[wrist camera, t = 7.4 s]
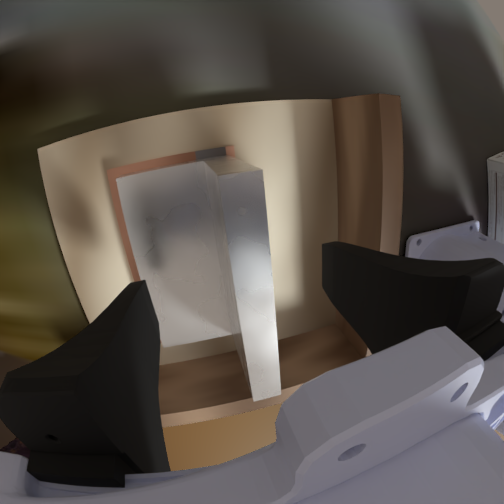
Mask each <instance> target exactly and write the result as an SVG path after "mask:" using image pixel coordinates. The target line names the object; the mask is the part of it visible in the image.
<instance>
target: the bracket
mask: <svg viewBox="0 0 504 504" xmlns="http://www.w3.org/2000/svg"><path fill="white" fill-rule="evenodd" d="M116 182H117V187H118V192H119V197H120V201H121V206H122V210H123V215H124V219H125V223H126V227H127V232H128V236H129V239H130V243H131V247H132V251H133V255H134V258H135V262H136V265H137V269H138V272H139V276H140V279H141V280H146V283H147V287H148V290H149V293H150V296H151V300H152V303H153V306H154V309H155V312H156V315H157V318H158V321H159V329H160V340H161V342H162V345H163V348H165V347H171V346H176V345H182V344H187V343H193V342H198V341H203V340H208V339H213V338H218V337H222V336H227V335H233V339H234V342H235V345H236V348H237V352H238V355H239V358H240V361H241V364H242V368H243V371H244V374H245V377H246V380H247V383H248V386H249V389H250V392H251V395H252V398H253V401H254V402H255V401H259V400H263V399H266V398H270V397H274V396H278V395H281V382H280V368H279V354H278V340H277V327H276V314H275V301H274V289H273V277H272V265H271V253H270V242H269V231H268V220H267V209H266V199H265V188H264V178H263V170H262V169H260V168H258V167H255V166H253V165H251V164H248V163H246V162H244V161H241V160H239V159H236V158H234V157H231V156H229V155H224V156H217V157H210V158H204V159H198V160H192V161H186V162H181V163H175V164H170V165H165V166H160V167H155V168H150V169H146V170H141V171H136V172H132V173H128V174H123V175H120V176H119V177H118V178H116Z"/></svg>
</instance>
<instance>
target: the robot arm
mask: <svg viewBox="0 0 504 504" xmlns="http://www.w3.org/2000/svg"><path fill="white" fill-rule="evenodd" d="M417 241H418V242H417ZM322 288H323V289H324V291H325V293H326V294H327V296H328V298H329V299H330V301H331V302H332V304H333V305H334V306H335V308H336V309H337V310H338V311H339V312H340V314H341V315H342V316H343V317H344V318H345V320H346V321H347V322H348V323H349V324H350V325H351V327H352V328H353V329H354V330H355V331H356V332H357V334H358V335H359V336H360V337H361V339H362V340H363V341H364V343H365V344H366V345H367V347H368V349H369V350H370V352H371V353H372V355H370V356H367V357H365V358H362V359H360V360H357V361H354V362H352V363H349V364H346V365H343V366H341V367H338V368H335V369H332V370H329V371H327V372H325V373H323V374H321V375H320V376H318V377H316V378H314V379H312V380H310V381H308V382H306V383H304V384H302V385H301V386H300V387H299V388H298V389H297V390H296V391H295V392H294V393H293V394H292V395H291V396H290V397H289V398H287V399H286V400H285V401H284V403H283V404H282V405H281V408H280V411H279V414H278V416H277V419H276V422H275V425H276V435H277V439H276V442H274V443H272V444H270V445H268V446H265V447H263V448H261V449H258V450H256V451H253V452H251V453H249V454H246V455H244V456H241V457H238V458H236V459H233V460H230V461H227V462H225V463H222V464H219V465H214V466H208V467H202V468H195V469H188V470H180V471H170V466H169V462H168V457H167V452H166V447H165V442H164V437H163V429H162V422H161V415H160V405H159V390H158V387H159V364H160V344H161V343H160V329H159V321H158V318H157V315H156V312H155V309H154V306H153V303H152V300H151V296H150V293H149V290H148V287H147V283H146V280H141V281H136V282H131V283H130V284H128V285H127V286H126V287H125V288H124V289H123V290H122V291H121V293H120V294H119V295H118V296H117V297H116V298H115V299H114V300H113V301H112V302H111V303H110V305H109V306H108V307H107V308H106V309H105V310H104V311H103V312H102V313H101V314H100V315H99V316H98V317H97V318H96V319H95V320H94V321H93V322H91V323H90V324H89V325H88V326H87V327H86V328H85V329H83V330H82V331H81V332H80V333H78V334H77V335H76V336H75V337H73V338H72V339H70V340H69V341H67V342H66V343H64V344H63V345H62V346H60V347H59V348H57V349H56V350H54V351H52V352H50V353H49V354H47V355H45V356H43V357H41V358H39V359H38V360H36V361H34V362H31V363H29V364H27V365H25V366H22V367H20V368H17V369H15V370H13V371H10V372H8V373H7V374H6V377H5V379H4V381H3V383H2V386H1V388H0V418H1V420H2V421H3V422H4V424H5V425H6V426H7V427H8V428H9V429H10V430H11V432H12V433H13V434H14V435H15V436H16V437H17V438H18V439H19V440H20V441H21V442H22V443H23V444H24V445H25V446H26V447H27V448H28V449H29V450H31V451H30V456H29V459H28V458H26V457H24V456H22V455H18V454H13V453H7V452H2V451H0V504H504V441H503V440H502V439H501V438H500V436H499V435H498V434H497V433H496V432H495V431H494V430H495V429H496V430H497V431H498V432H500V433H501V434H503V435H504V244H502V243H500V242H498V241H496V240H494V239H492V238H490V237H488V236H486V235H484V234H482V233H479V221H477V220H473V221H469V222H465V223H461V224H457V225H453V226H449V227H445V228H441V229H437V230H433V231H429V232H424V233H420V234H416V235H412V236H410V237H409V238H408V240H407V243H406V252H405V257H403V256H398V255H393V254H389V253H384V252H380V251H376V250H372V249H369V248H365V247H361V246H357V245H353V244H349V243H345V242H338V241H333V242H329V243H324V244H322Z"/></svg>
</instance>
